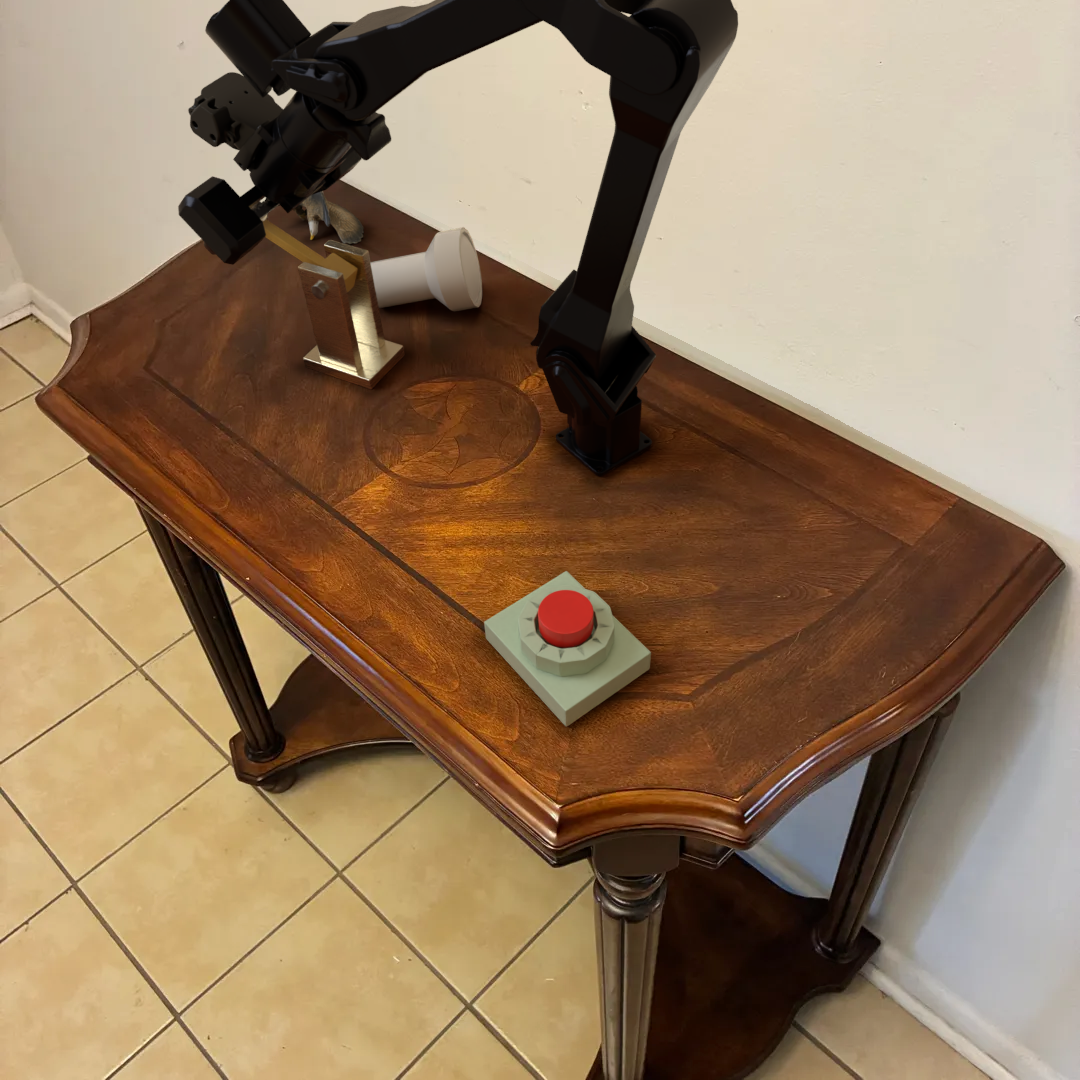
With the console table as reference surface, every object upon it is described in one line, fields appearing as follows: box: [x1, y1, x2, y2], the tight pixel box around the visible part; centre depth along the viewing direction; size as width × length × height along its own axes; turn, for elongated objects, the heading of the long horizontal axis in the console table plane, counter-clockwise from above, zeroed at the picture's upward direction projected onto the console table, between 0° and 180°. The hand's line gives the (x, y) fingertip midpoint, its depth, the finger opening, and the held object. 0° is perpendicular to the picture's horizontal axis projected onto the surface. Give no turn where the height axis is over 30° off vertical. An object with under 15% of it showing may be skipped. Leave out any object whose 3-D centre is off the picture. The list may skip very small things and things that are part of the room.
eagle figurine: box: [292, 191, 365, 245], centre depth 113 cm, size 8×7×9 cm
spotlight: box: [370, 226, 483, 312], centre depth 103 cm, size 8×11×8 cm
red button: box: [538, 590, 594, 648], centre depth 72 cm, size 4×4×2 cm
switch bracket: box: [297, 239, 405, 390], centre depth 95 cm, size 8×6×12 cm
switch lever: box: [251, 201, 358, 292], centre depth 92 cm, size 13×4×4 cm, turn 62°
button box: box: [483, 570, 652, 728], centre depth 74 cm, size 10×8×4 cm
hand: (240, 225), depth 93 cm, fingers open, 9 cm apart
